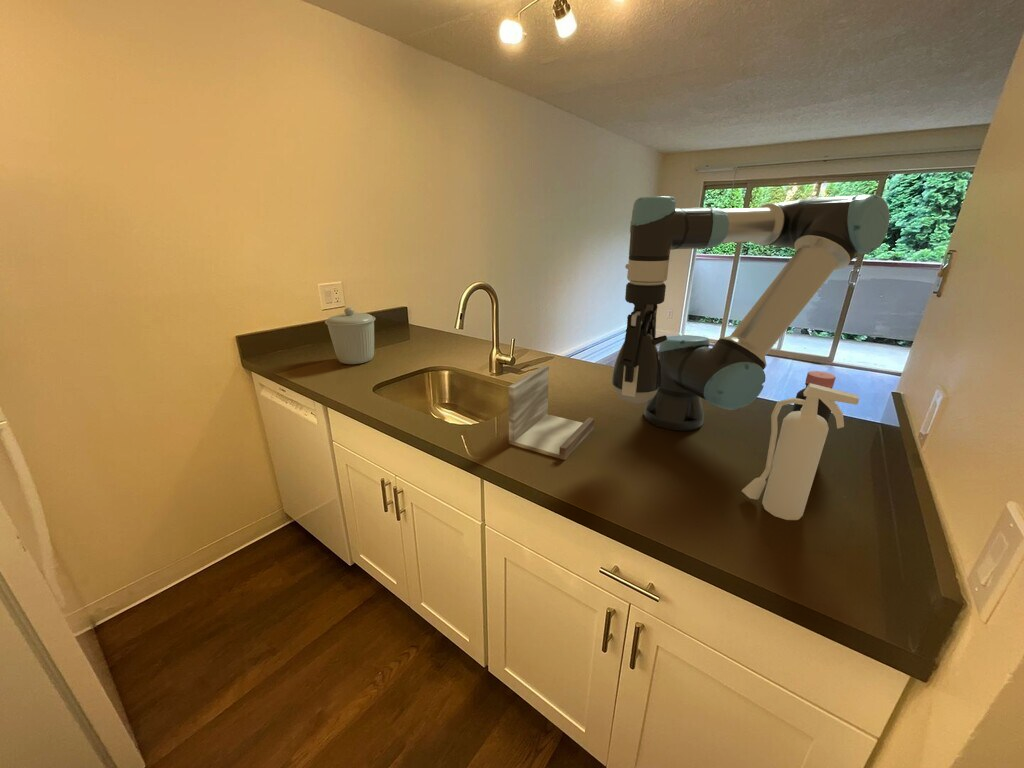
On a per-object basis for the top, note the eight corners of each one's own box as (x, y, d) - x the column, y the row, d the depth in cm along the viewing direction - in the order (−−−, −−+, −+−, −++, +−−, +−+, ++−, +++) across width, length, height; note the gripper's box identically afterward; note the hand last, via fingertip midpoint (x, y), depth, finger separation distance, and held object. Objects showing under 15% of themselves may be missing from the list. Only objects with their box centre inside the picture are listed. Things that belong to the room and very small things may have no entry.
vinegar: (775, 448, 99) (795, 369, 92) (804, 449, 99) (827, 369, 92) (792, 464, 93) (815, 380, 86) (823, 464, 93) (849, 380, 85)
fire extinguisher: (741, 486, 85) (773, 372, 75) (812, 508, 79) (858, 387, 69) (737, 505, 79) (771, 384, 69) (813, 530, 73) (862, 402, 63)
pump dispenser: (662, 410, 86) (671, 338, 80) (610, 406, 88) (616, 336, 82) (656, 391, 95) (664, 325, 89) (610, 388, 97) (614, 324, 91)
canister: (390, 358, 167) (384, 305, 159) (352, 371, 153) (343, 314, 145) (360, 351, 176) (353, 301, 168) (322, 363, 162) (312, 308, 154)
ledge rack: (593, 428, 109) (597, 375, 104) (565, 460, 95) (568, 399, 89) (542, 416, 116) (543, 365, 111) (508, 443, 102) (508, 386, 96)
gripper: (642, 274, 93) (633, 368, 101) (608, 288, 75) (601, 401, 83) (677, 276, 89) (665, 373, 97) (651, 291, 71) (639, 409, 79)
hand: (635, 386), depth 90 cm, fingers closed on pump dispenser, 10 cm apart
